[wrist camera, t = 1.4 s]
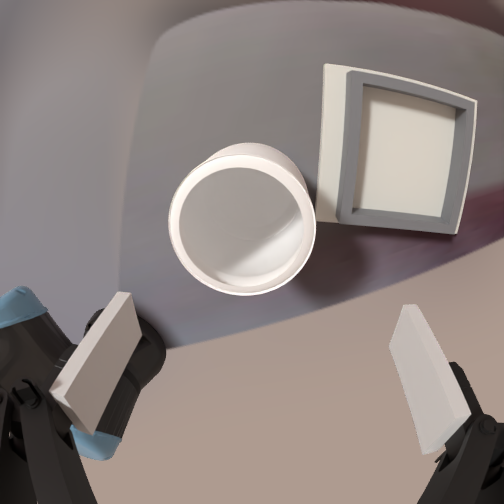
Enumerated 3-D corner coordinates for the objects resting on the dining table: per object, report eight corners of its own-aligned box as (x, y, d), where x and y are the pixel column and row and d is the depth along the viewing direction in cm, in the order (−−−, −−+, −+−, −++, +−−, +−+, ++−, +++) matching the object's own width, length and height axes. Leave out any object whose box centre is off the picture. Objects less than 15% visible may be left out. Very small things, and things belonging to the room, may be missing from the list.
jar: (291, 231, 36) (297, 306, 22) (207, 216, 36) (166, 283, 23) (309, 144, 31) (333, 169, 18) (217, 129, 31) (171, 144, 18)
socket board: (314, 217, 35) (317, 229, 31) (323, 65, 27) (328, 59, 23) (452, 230, 33) (465, 241, 30) (472, 100, 25) (488, 101, 22)
